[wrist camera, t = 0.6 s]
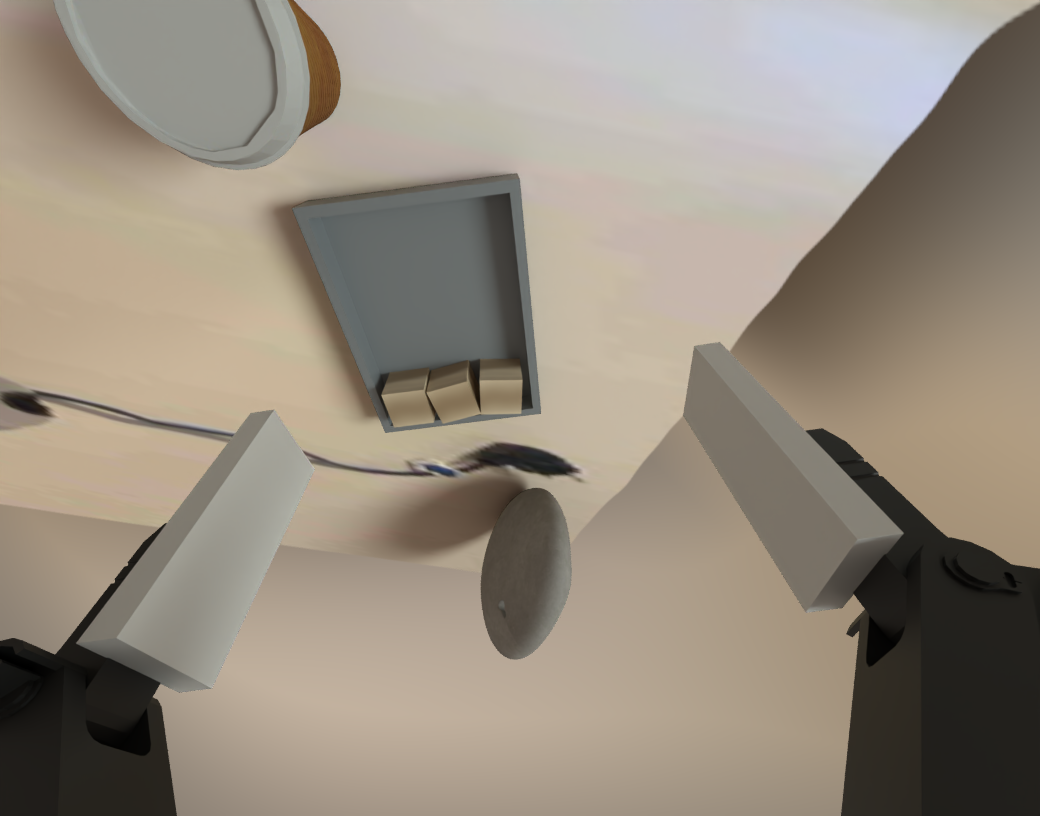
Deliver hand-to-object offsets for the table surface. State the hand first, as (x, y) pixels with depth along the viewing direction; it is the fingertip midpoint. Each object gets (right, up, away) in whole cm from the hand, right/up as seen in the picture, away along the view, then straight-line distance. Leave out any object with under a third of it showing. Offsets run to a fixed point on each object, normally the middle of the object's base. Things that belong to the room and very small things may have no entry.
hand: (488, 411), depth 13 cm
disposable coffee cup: (-14, +23, +14) cm, 30 cm away
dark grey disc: (+1, -13, +42) cm, 44 cm away
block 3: (-1, +3, +28) cm, 28 cm away
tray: (-6, +9, +24) cm, 27 cm away
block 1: (-10, +2, +28) cm, 30 cm away
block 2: (-6, +3, +28) cm, 29 cm away
